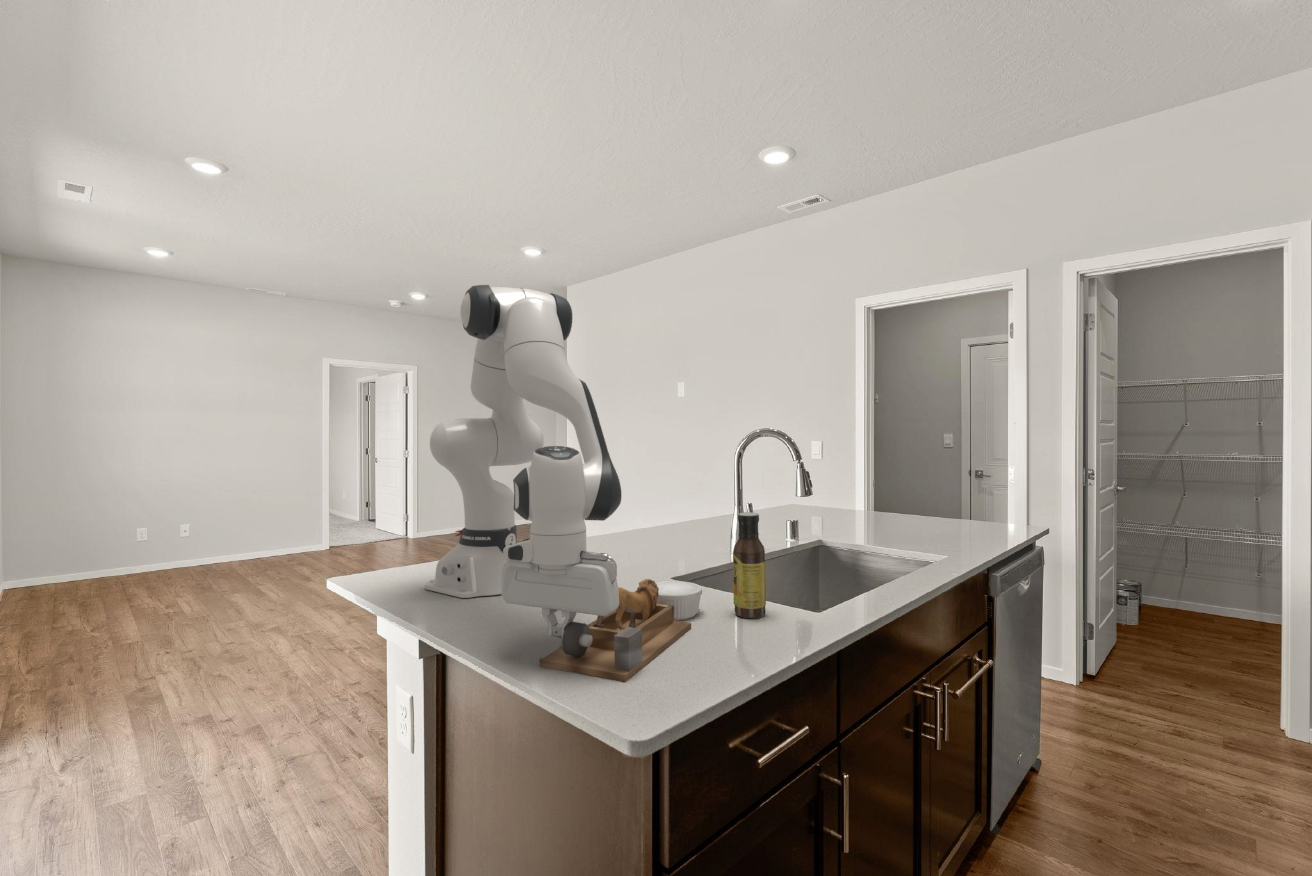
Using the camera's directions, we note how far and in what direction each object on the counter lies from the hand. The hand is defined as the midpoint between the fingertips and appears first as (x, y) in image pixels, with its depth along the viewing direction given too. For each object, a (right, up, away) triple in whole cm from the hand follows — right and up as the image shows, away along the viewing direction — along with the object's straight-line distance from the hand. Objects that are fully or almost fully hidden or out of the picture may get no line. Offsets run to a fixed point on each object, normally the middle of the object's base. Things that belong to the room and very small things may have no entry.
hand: (559, 636), depth 99 cm
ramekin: (+19, -4, +24) cm, 31 cm away
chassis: (+9, -4, +6) cm, 12 cm away
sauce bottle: (+34, -3, +23) cm, 41 cm away
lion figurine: (+10, -2, +9) cm, 13 cm away
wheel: (+3, -3, -1) cm, 4 cm away
